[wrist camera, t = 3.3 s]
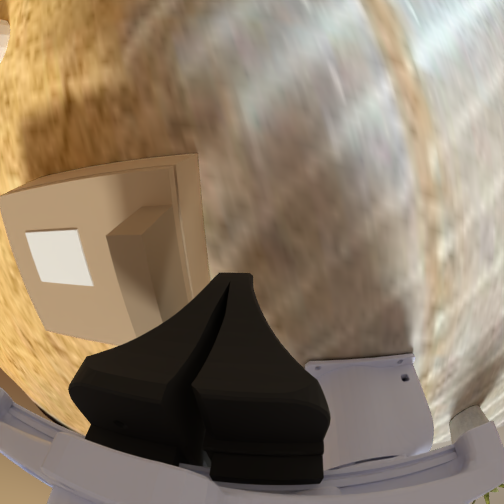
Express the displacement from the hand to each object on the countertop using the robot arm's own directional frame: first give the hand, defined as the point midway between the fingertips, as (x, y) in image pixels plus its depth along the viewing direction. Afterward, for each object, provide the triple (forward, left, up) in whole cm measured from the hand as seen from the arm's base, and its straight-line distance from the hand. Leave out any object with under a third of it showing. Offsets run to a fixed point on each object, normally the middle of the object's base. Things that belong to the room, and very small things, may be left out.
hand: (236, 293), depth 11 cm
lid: (+8, 0, -2) cm, 9 cm away
